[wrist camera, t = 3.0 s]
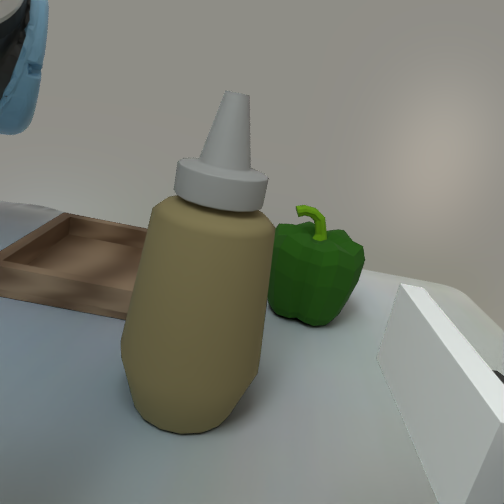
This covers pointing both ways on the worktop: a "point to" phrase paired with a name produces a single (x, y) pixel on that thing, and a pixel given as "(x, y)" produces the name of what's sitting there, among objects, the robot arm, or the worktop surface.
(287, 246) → the bell pepper
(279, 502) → the worktop surface
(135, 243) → the walnut tray
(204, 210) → the squeeze bottle
